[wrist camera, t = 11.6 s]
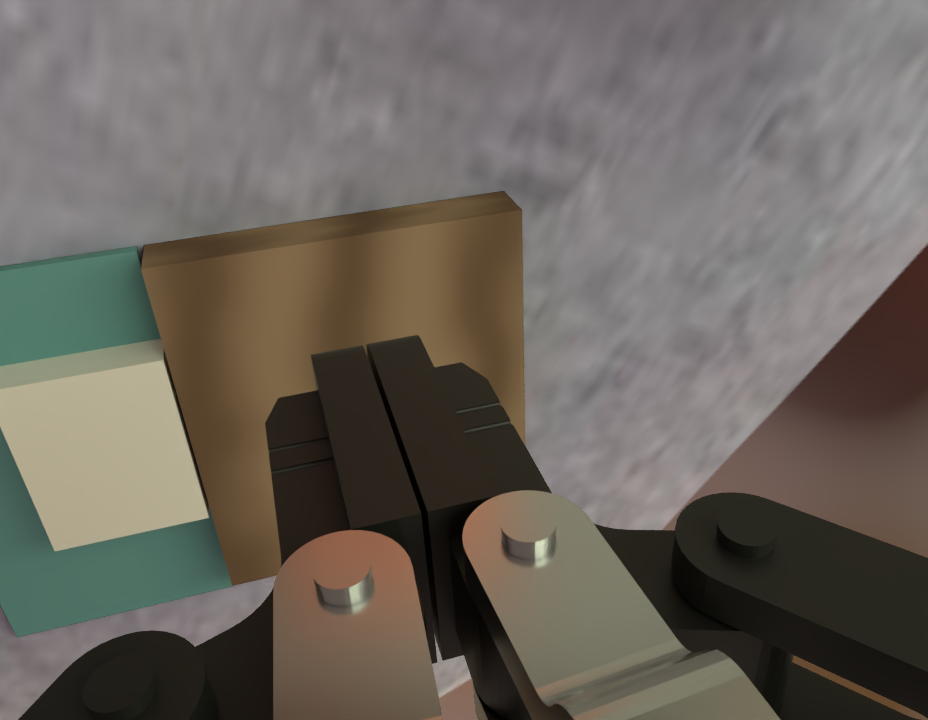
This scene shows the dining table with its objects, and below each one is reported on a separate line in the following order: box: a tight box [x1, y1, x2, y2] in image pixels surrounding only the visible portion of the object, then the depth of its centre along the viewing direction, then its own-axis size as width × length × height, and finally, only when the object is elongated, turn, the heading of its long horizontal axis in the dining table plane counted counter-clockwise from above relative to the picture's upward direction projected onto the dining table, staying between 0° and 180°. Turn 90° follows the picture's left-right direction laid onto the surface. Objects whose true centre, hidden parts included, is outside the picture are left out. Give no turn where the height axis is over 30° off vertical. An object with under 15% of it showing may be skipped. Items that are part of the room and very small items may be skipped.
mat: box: [0, 246, 232, 637], centre depth 38 cm, size 11×20×1 cm, turn 3°
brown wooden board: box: [141, 191, 525, 586], centre depth 40 cm, size 16×18×2 cm
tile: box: [0, 339, 209, 551], centre depth 37 cm, size 7×9×2 cm
